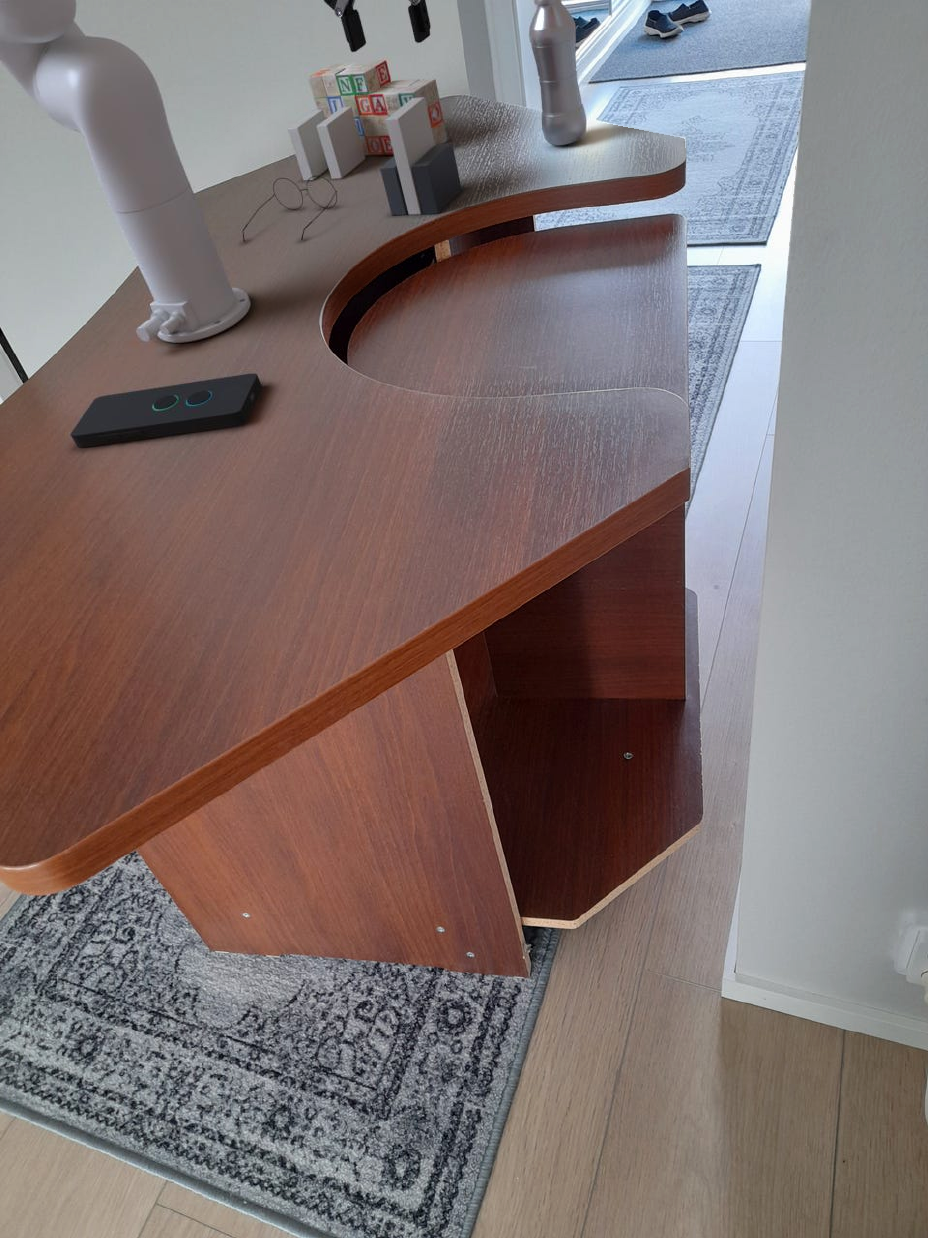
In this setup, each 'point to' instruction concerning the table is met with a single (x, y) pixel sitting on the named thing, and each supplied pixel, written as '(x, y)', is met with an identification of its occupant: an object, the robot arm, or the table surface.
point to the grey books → (425, 180)
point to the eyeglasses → (299, 207)
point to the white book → (410, 146)
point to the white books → (327, 143)
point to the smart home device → (168, 410)
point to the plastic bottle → (557, 72)
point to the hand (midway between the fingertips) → (390, 43)
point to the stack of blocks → (373, 100)
